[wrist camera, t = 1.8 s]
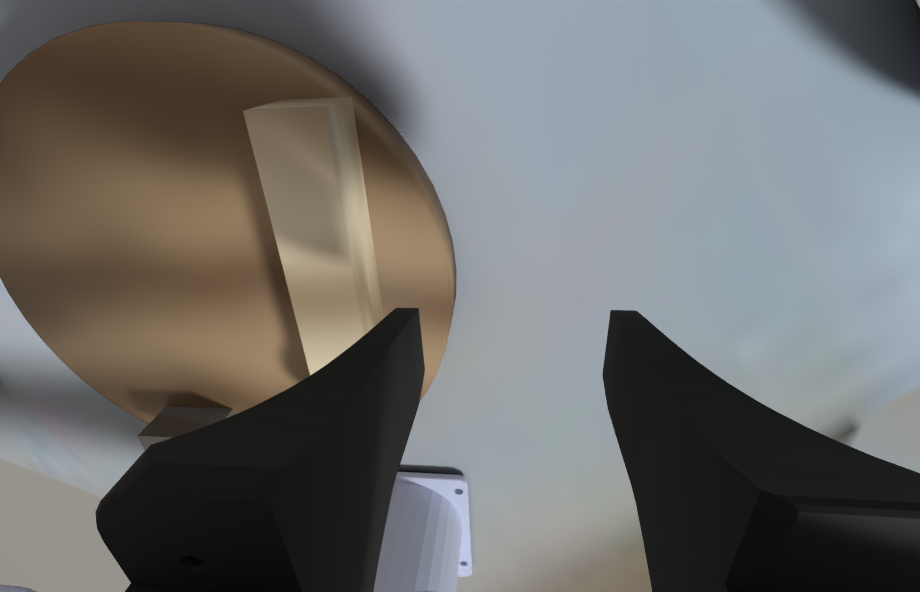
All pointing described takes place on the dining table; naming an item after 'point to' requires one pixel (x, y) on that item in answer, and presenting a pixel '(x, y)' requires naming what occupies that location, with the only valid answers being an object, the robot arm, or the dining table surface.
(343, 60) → the dining table surface
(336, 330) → the hinged leg
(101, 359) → the stool seat
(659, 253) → the dining table surface
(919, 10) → the milk container
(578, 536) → the dining table surface
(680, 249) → the dining table surface
